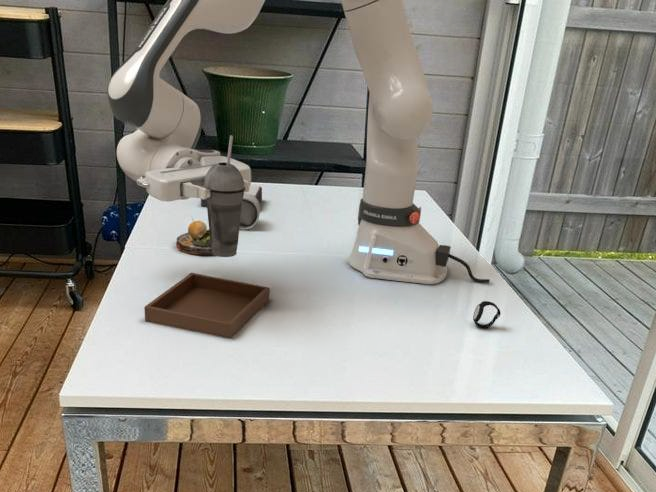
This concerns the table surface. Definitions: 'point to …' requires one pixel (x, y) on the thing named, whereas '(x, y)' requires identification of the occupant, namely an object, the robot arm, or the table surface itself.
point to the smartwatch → (479, 313)
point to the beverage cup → (224, 206)
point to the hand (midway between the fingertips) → (227, 190)
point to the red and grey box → (253, 191)
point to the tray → (208, 305)
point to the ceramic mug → (249, 212)
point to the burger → (195, 239)
